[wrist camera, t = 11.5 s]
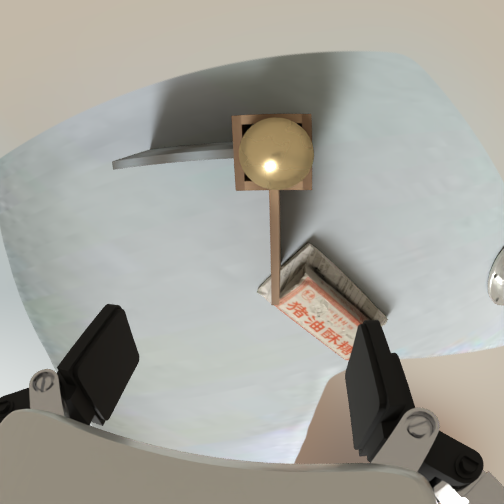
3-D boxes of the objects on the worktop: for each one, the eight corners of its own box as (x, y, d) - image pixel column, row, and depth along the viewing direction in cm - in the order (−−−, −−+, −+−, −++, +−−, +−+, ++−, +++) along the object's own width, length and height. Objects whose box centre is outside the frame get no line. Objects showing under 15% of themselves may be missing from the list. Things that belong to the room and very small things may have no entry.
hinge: (303, 115, 30) (311, 114, 22) (302, 264, 38) (307, 305, 30) (147, 127, 32) (108, 133, 24) (166, 263, 40) (140, 299, 32)
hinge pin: (304, 118, 30) (313, 117, 21) (304, 170, 32) (313, 190, 24) (250, 119, 30) (237, 118, 22) (252, 170, 33) (240, 190, 24)
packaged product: (396, 335, 36) (342, 372, 40) (387, 314, 41) (338, 350, 45) (311, 255, 33) (252, 307, 36) (308, 238, 37) (256, 286, 41)
